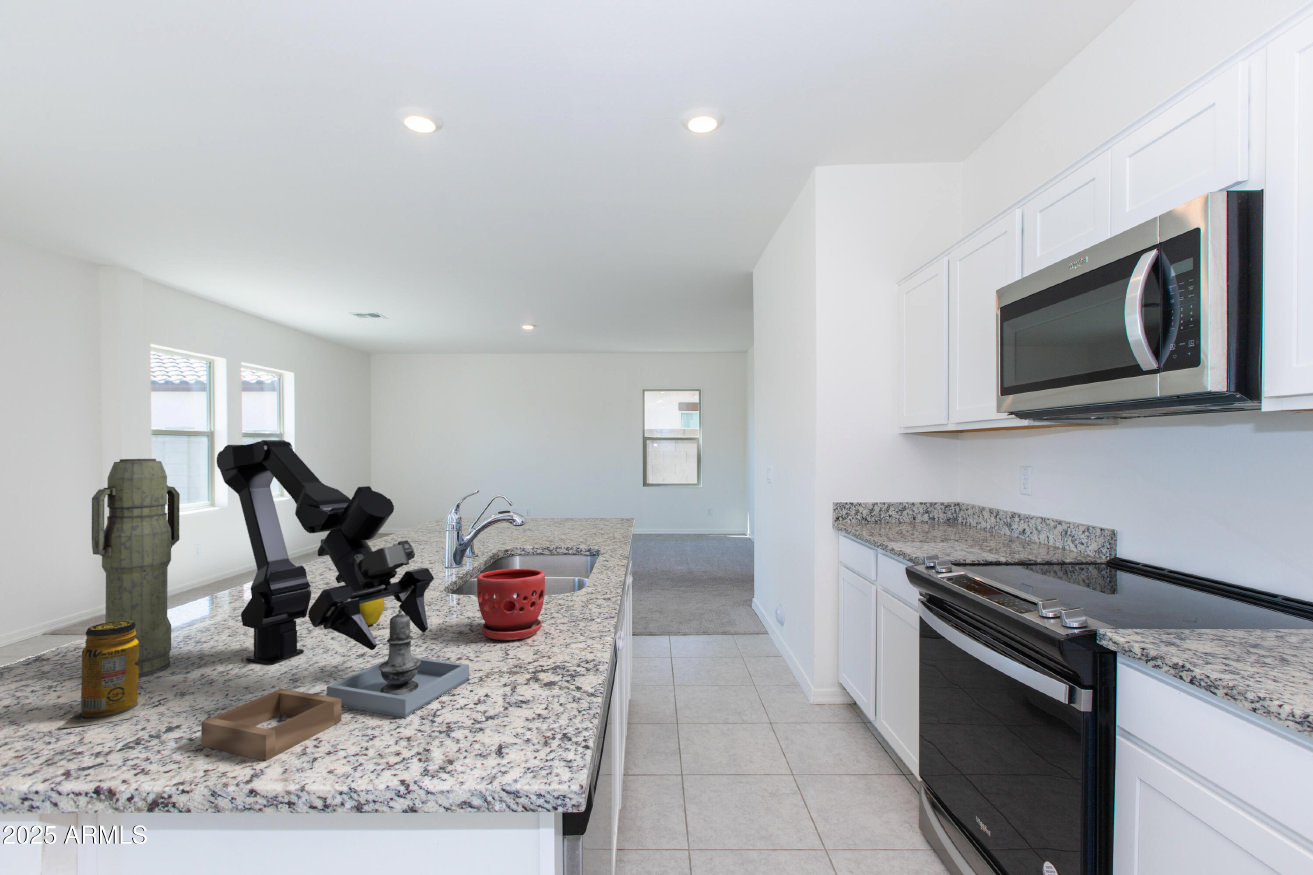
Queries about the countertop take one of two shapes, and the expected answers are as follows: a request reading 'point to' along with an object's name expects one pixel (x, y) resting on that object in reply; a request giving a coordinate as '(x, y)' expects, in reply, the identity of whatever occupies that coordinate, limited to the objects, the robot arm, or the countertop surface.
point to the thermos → (138, 553)
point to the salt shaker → (399, 658)
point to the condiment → (108, 675)
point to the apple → (372, 611)
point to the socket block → (245, 739)
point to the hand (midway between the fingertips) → (401, 639)
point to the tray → (432, 682)
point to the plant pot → (511, 602)
